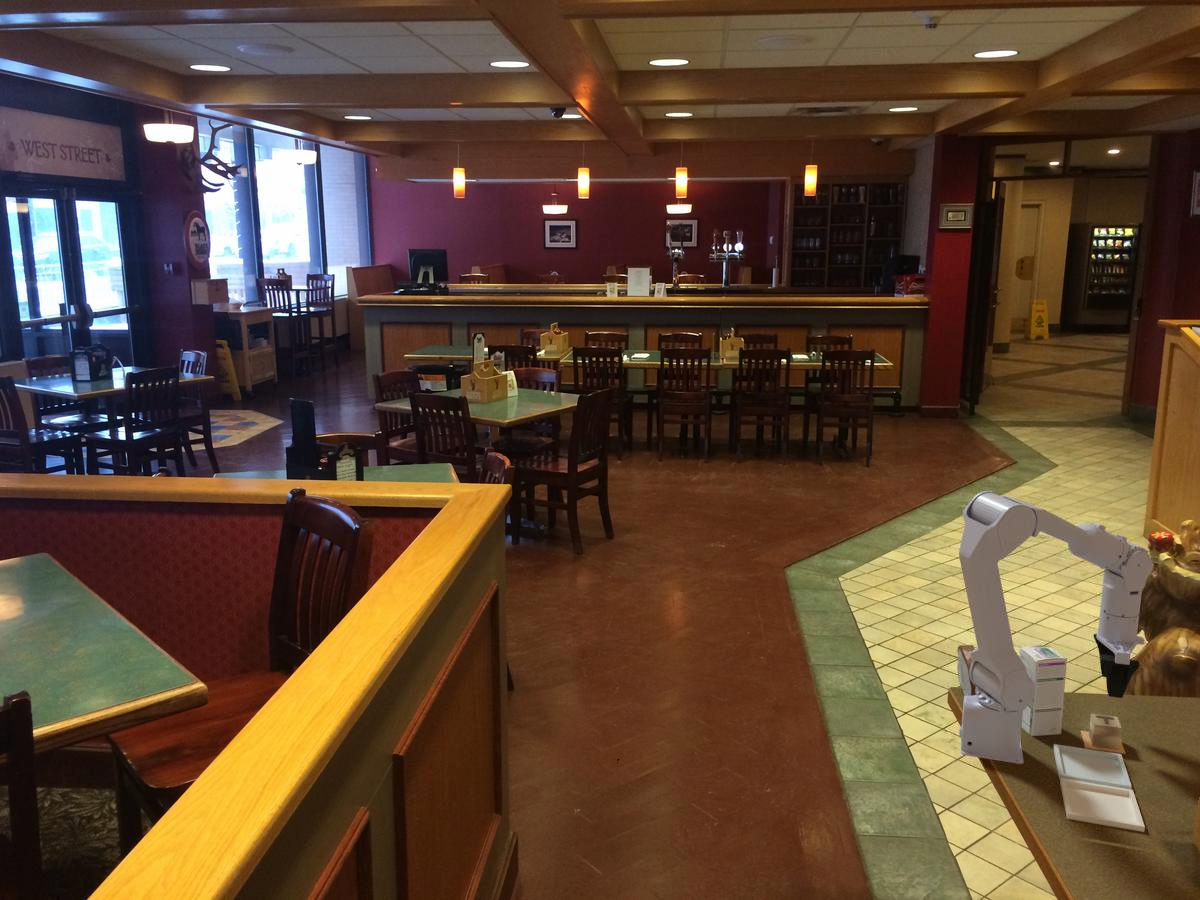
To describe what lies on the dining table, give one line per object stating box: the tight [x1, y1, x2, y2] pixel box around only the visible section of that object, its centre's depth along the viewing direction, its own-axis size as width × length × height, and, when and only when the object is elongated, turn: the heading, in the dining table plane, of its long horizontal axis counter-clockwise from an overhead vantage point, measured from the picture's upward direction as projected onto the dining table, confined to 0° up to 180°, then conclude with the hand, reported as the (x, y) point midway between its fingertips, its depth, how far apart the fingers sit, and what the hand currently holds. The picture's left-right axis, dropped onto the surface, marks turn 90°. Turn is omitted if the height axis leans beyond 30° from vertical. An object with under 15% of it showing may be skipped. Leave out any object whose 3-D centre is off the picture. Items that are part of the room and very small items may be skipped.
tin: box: [957, 644, 977, 697], centre depth 177 cm, size 15×3×8 cm, turn 168°
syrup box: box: [1018, 644, 1068, 737], centre depth 163 cm, size 6×6×14 cm
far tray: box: [1053, 743, 1132, 790], centre depth 151 cm, size 10×10×1 cm
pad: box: [1080, 730, 1126, 755], centre depth 159 cm, size 6×6×1 cm
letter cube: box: [1088, 712, 1122, 750], centre depth 159 cm, size 4×4×4 cm
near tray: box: [1059, 778, 1146, 833], centre depth 141 cm, size 10×10×1 cm
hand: (1111, 686), depth 160 cm, fingers open, 7 cm apart
